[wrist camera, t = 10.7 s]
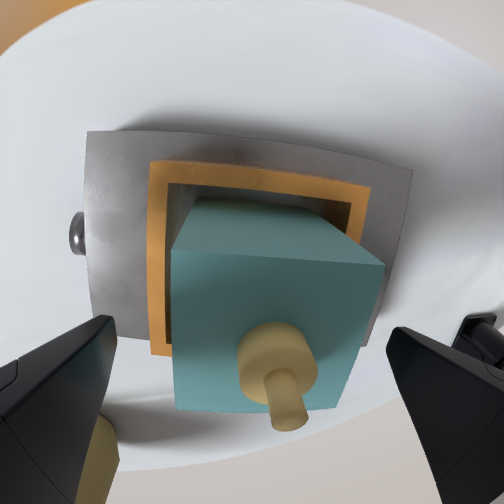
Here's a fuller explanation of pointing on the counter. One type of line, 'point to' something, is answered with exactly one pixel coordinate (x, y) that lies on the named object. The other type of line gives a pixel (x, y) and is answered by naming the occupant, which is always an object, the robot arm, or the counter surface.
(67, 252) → the counter surface
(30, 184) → the counter surface
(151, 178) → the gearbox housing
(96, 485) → the squeeze bottle
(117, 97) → the counter surface
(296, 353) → the oil can
